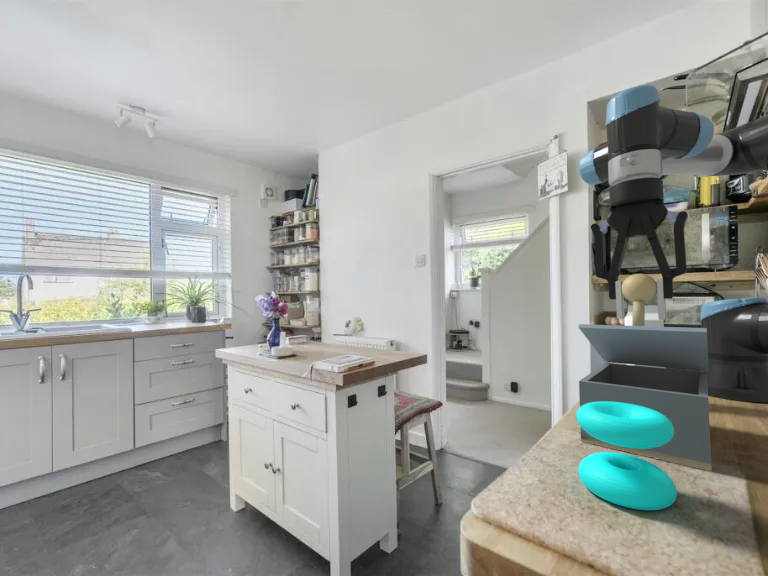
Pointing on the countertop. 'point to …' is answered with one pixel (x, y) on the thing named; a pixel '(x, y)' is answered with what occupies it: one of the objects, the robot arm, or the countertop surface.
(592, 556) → the countertop surface
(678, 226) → the robot arm
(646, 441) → the donuts
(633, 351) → the flap
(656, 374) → the carton
